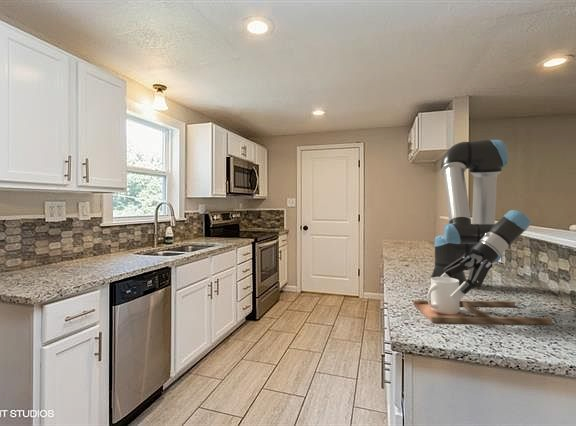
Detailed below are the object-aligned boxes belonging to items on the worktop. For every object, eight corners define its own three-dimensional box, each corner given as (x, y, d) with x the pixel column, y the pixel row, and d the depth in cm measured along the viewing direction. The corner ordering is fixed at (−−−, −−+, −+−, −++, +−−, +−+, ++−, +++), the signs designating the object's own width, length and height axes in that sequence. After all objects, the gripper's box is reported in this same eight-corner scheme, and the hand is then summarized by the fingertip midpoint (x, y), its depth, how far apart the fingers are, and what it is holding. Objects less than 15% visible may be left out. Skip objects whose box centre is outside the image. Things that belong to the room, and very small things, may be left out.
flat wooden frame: (513, 305, 113) (512, 301, 113) (551, 324, 95) (551, 319, 95) (413, 304, 116) (413, 300, 116) (432, 322, 97) (432, 317, 97)
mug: (417, 310, 107) (417, 279, 107) (443, 305, 112) (443, 275, 112) (438, 318, 99) (438, 284, 99) (465, 313, 104) (465, 280, 104)
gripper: (461, 237, 118) (421, 277, 119) (505, 245, 93) (454, 295, 94) (475, 251, 118) (435, 291, 119) (523, 262, 93) (472, 313, 94)
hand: (443, 293), depth 106 cm, fingers open, 13 cm apart
